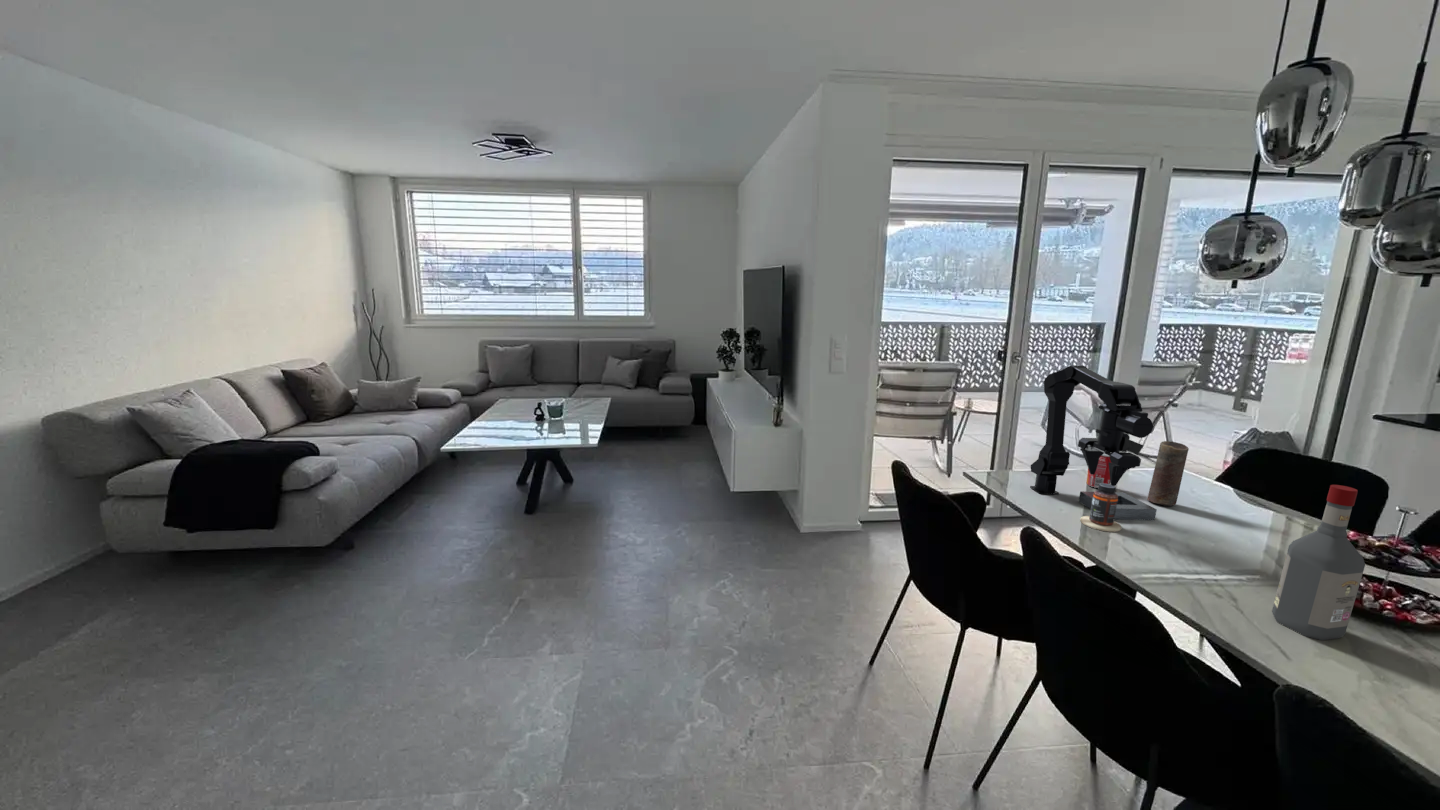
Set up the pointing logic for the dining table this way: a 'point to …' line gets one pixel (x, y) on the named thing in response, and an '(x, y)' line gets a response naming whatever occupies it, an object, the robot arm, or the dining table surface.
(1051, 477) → the robot arm
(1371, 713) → the dining table surface
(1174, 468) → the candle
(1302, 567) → the grey bottle
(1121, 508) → the socket plate
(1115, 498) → the supplement bottle
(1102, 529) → the coaster pad
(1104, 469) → the soda can
